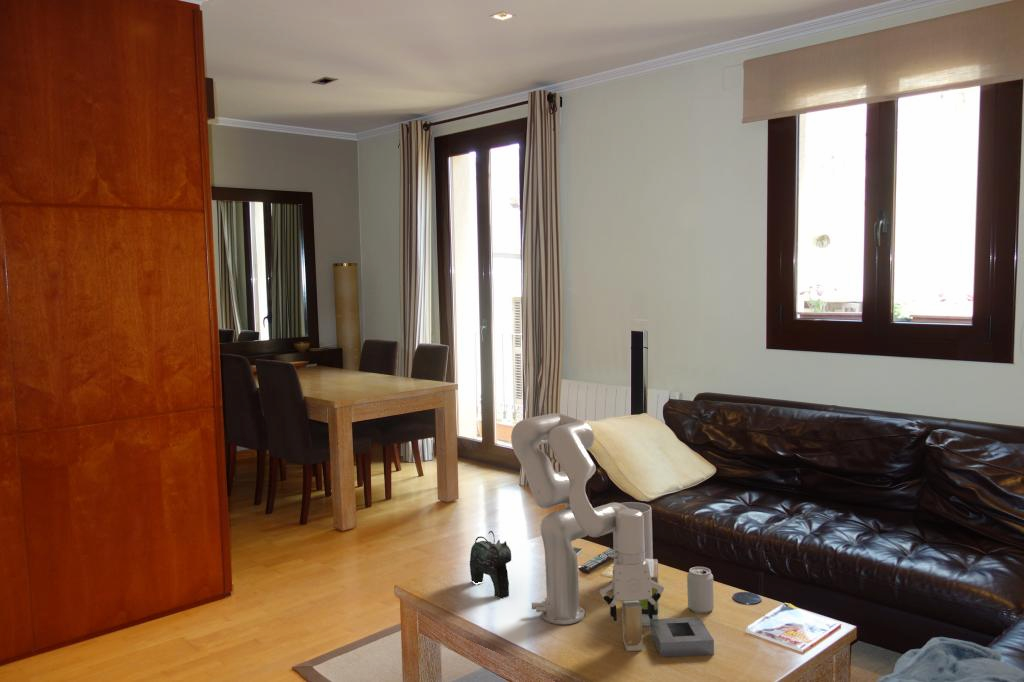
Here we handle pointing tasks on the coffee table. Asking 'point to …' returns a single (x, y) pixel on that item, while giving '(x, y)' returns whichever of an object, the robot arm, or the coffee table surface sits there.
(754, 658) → the coffee table surface
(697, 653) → the holder
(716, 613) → the coffee table surface
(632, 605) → the skincare box
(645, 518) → the cylinder vase
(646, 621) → the tea box
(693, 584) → the can
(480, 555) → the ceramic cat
